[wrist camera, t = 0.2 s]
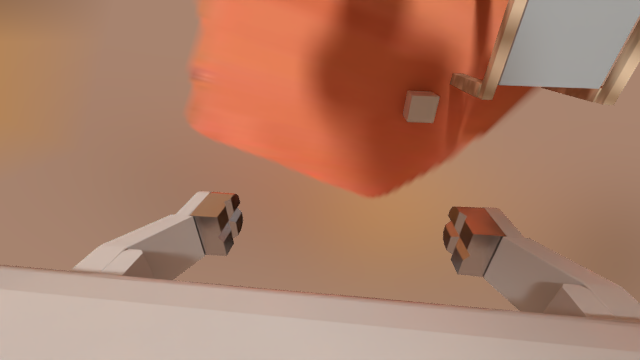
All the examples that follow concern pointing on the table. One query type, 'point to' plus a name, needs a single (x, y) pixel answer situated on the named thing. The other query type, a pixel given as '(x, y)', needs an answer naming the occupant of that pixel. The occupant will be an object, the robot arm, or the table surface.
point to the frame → (632, 54)
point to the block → (420, 106)
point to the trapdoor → (568, 42)
